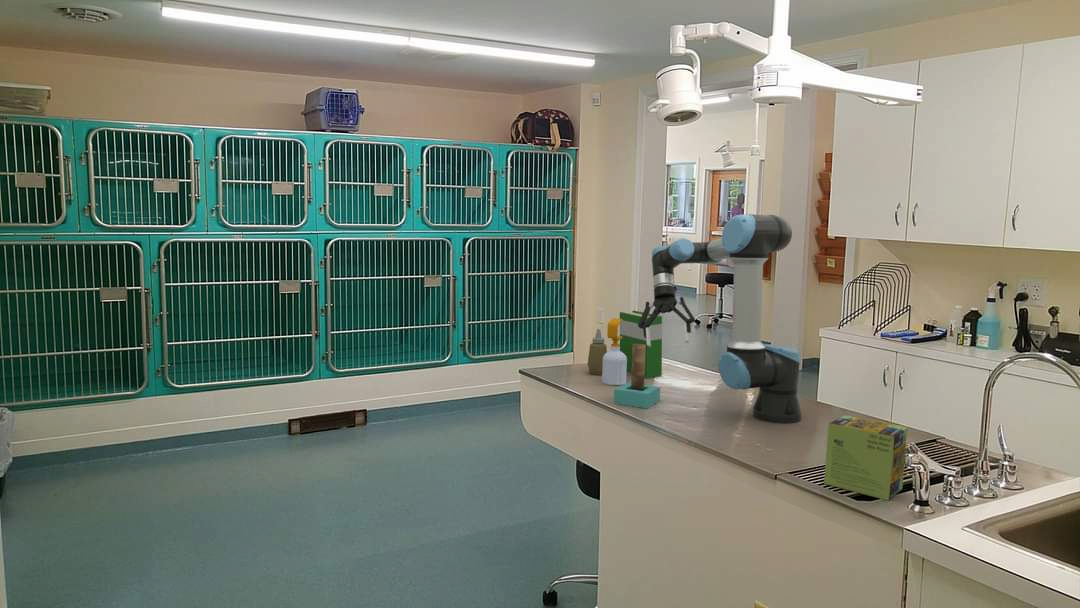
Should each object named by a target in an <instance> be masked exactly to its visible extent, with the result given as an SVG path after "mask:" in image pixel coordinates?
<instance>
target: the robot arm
mask: <svg viewBox="0 0 1080 608" xmlns="http://www.w3.org/2000/svg"><path fill="white" fill-rule="evenodd" d="M792 237H793V229H792V227H791V225H790V222H788V221H787V220H786V218H783V217H781V215H780V216H779V215H775V214H750V213H749V214H748V213H745V214H737V215H733V216H731V218H729V219H728V221H727V222H726V223H725V225H724V227H723V229H722V233H721V237H719V238H717V239H712V240H709V241H705V242H700V241H699V242H692V241H691V240H689V239H687V238H684V237H682V238H678V239H677V240H675V241H673V242H671V244H669V245H668V246H666V245H659V246H656V247H654V248H653V249H652V251H651V262H652V263H651V264H652V265H651V268H652V279H653V280H652V281H653V283H652V284H653V288H654V289H653V298H654V300H653V302H649V301H646V302H645V308H644V310H643V311H642V312H643V314H642V317H641V319H640V321H639V323H638V326H639V328H640V329H643V333H644V337H645V338H647V346H648V347H651V341H650V329H649V326H650V325H651V324H652V322H653V321H654V320H655V318H656V317H657V316H660V314H666V313H671V312H672V311H673V313H675V314H676V315H677V316H678V317H679V318H681V320H683V321H684V322H683V331H684V341H685V343H687V344H688V343H689V342H690V340H689V334H691V332H692V328H691V324H692V323H695V322H696V319H695V317H694V315H693V314H692V313H691V311H690V309H689V308H688V305H686V300H685V298H684V297H683V296H680V297H679V298H676V290H675V289H676V288H675V285H676V284H675V273H674V272H675V271H674V268H675V269H676V268H677V267H678V266H679V265H681V264H716V263H721V262H722V261H723V260H726V259H729V260H730V261H731V262H732V263H733V295H732V297H733V298H732V331H731V332H732V333H731V341H730V342H729V343H727V345H726V352H724V353H723V354H721V356H720V357H719V360H718V364H717V365H718V372H719V375H720V378H721V380H722V381H723V384H725V385H726V386H727V387H728V388H729V389H732V390H743V391H745V390H749V389H757V388H759V389H758V393H757V397H756V399H755V401H754V404H753V405H752V411H751V413H752V414H751V415H752V416H753V417H754V418H756V419H758V420H761V421H764V422H769V423H770V422H771V423H778V424H779V423H781V424H792V423H798V422H800V421H801V420H802V408H801V405H800V401H799V397H798V385H799V373H800V364H801V363H800V353H799V350H797V349H795V348H792V347H787V346H782V345H777V344H769V343H768V344H767V343H766V344H765V343H763V342H762V340H761V337H762V311H763V310H762V308H763V307H762V305H763V301H762V300H763V299H762V298H763V276H764V275H763V273H764V264H765V263H766V262H767V261H768V260H769V253H776V252H780V251H782V250H784V249H785V248H787V246H788V245H789V244H790V242H791V241H792ZM677 304H679V305H681V306H682V308H683V309H684V311H685V312H686V314H687V316H688V317H689V318H687V317H686V315H684V314H683V313H682V312H681V311H680V310H679V309H677V307H676V306H677ZM653 307H654V309H653ZM651 309H653V311H652V313H650V311H651ZM648 314H651V315H650V317H649V318H648V319H647V317H648ZM646 319H647V321H646ZM645 321H646V322H645ZM644 323H645V324H644Z"/></svg>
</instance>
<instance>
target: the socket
mask: <svg viewBox="0 0 1080 608" xmlns="http://www.w3.org/2000/svg"><path fill="white" fill-rule="evenodd" d="M613 395H614V396H613V404H614V403H615V405H619V404H620V405H621V406H626V405H628V406H627V407H632V406H634V407H635V408H639V407H642V408H641V409H645V408H648V409H649V408H651V407H653V406H655V403H656V404H658V403H659V402H660V401H661V397H660V396H661V386H656V385H655V386H654V385H650V384H649V385H648V384H644V391H639V390H632V389H631V382H626V383H625V384H624V385H619V386H618V387H616V388H614V390H613ZM652 405H653V406H652ZM650 406H651V407H650Z"/></svg>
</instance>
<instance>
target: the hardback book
mask: <svg viewBox="0 0 1080 608" xmlns="http://www.w3.org/2000/svg"><path fill="white" fill-rule="evenodd" d="M643 312H644V311H638V310H632V312H622V311H620V312H619V319H622V321H621V322H620V323H619V336H621V337H622V338H621V339H619V344H620V351H621V352H622V353H624V354H625V355H626V357H627V372H626V373H628V372H629V374H631V373H632V350H633V344H645V345H646V352H645V378H644V379H652V378H658V377H662V375H663V358H662V357H663V316H662V315H658V316H657V317H656V318H655V320H654V321H653V322H652V324H651V325H650V326H649V329H650V341H651V347H648V346H647V338H645V337H644V333H643V329H640V328H639V326H638V323H639V321H640V319H641V317H642V314H643ZM651 314H652V313H649V314H648V317H647V319H648V318H649V317H650V315H651ZM647 319H646V321H647ZM646 321H645V322H646ZM644 324H645V323H644Z"/></svg>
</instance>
